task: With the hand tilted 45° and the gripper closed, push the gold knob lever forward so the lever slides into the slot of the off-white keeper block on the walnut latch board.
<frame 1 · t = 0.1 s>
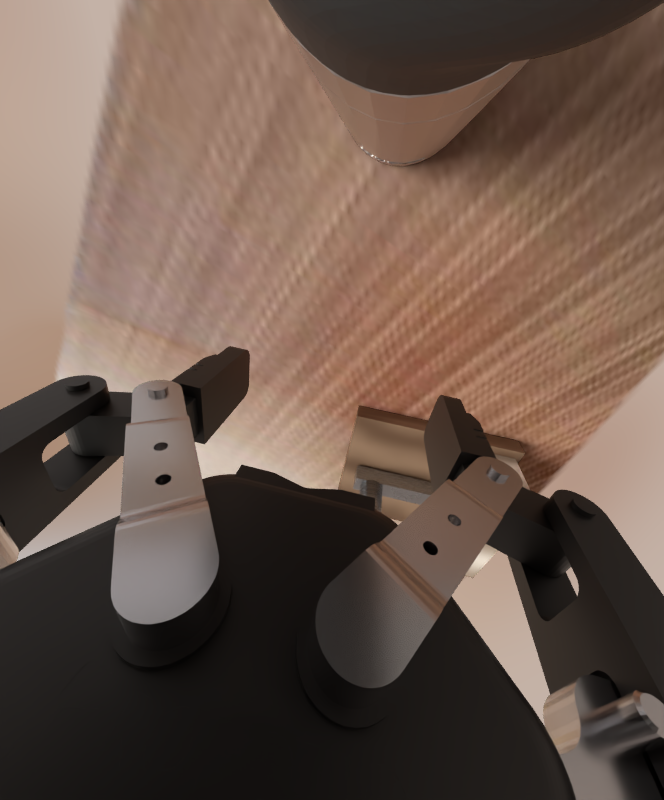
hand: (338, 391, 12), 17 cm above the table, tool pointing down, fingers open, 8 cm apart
gold knob lever: (392, 523, 31), point 8 cm above the table, slide at 0.0 cm
latch board: (415, 470, 38), on the table
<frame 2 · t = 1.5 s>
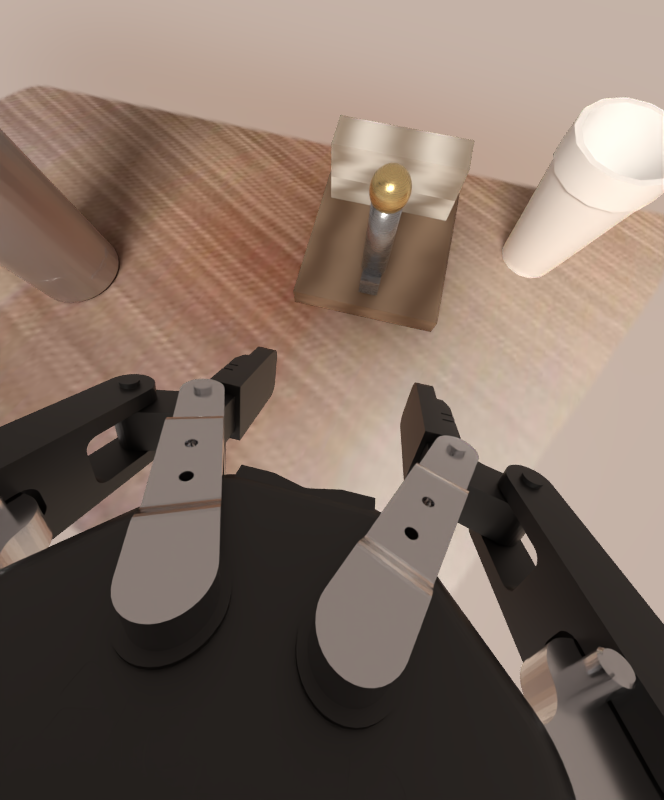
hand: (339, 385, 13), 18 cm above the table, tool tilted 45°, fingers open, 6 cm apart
gold knob lever: (385, 213, 27), point 8 cm above the table, slide at 0.0 cm
latch board: (377, 252, 36), on the table
foam cup: (526, 256, 36), on the table
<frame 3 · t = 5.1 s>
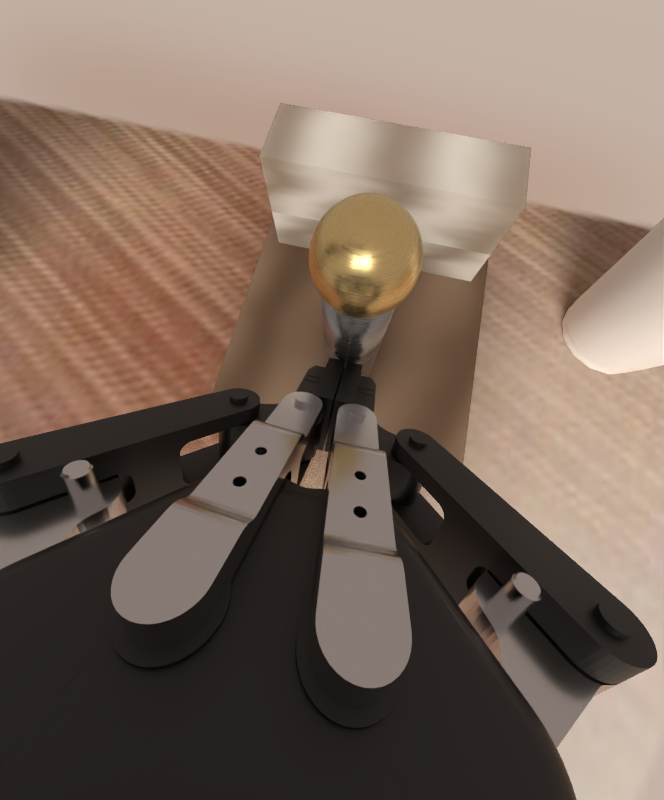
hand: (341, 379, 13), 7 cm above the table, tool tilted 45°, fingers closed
gold knob lever: (364, 283, 13), point 8 cm above the table, slide at 1.0 cm, touching gripper
latch board: (357, 330, 22), on the table
foam cup: (602, 335, 22), on the table
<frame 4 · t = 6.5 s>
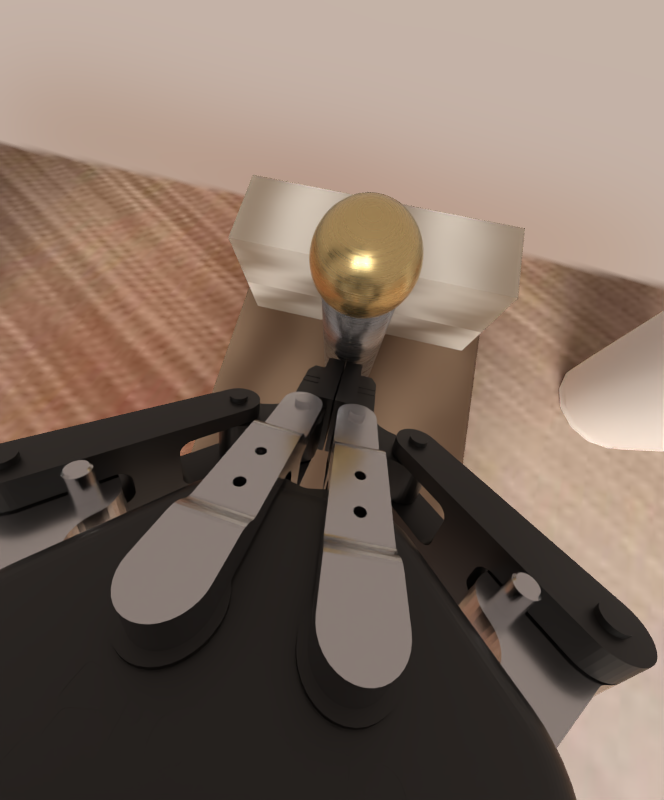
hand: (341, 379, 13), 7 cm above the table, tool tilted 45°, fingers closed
gold knob lever: (365, 283, 13), point 8 cm above the table, slide at 6.3 cm, touching gripper
latch board: (341, 398, 21), on the table
foam cup: (601, 403, 21), on the table
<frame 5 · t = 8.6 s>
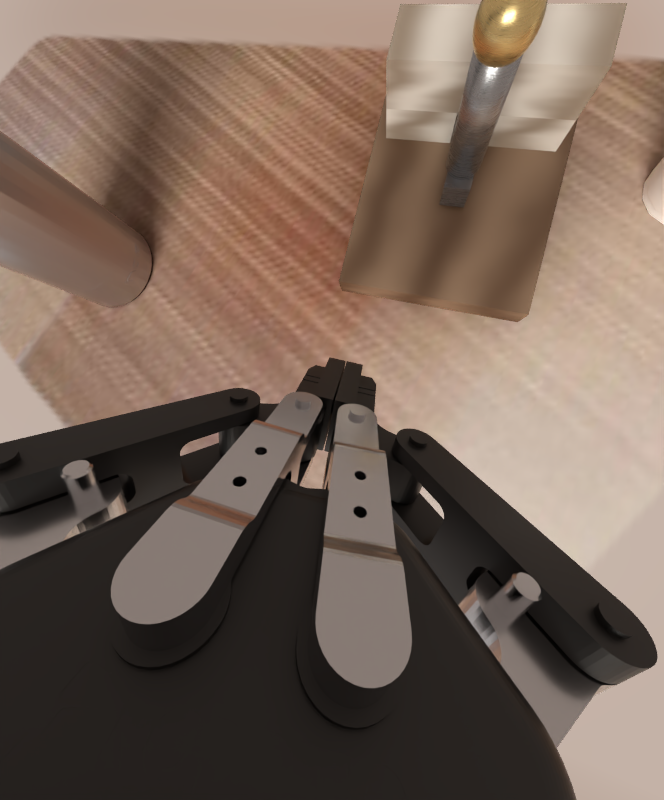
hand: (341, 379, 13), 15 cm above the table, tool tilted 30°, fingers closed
gold knob lever: (489, 73, 19), point 8 cm above the table, slide at 6.3 cm
latch board: (448, 211, 27), on the table
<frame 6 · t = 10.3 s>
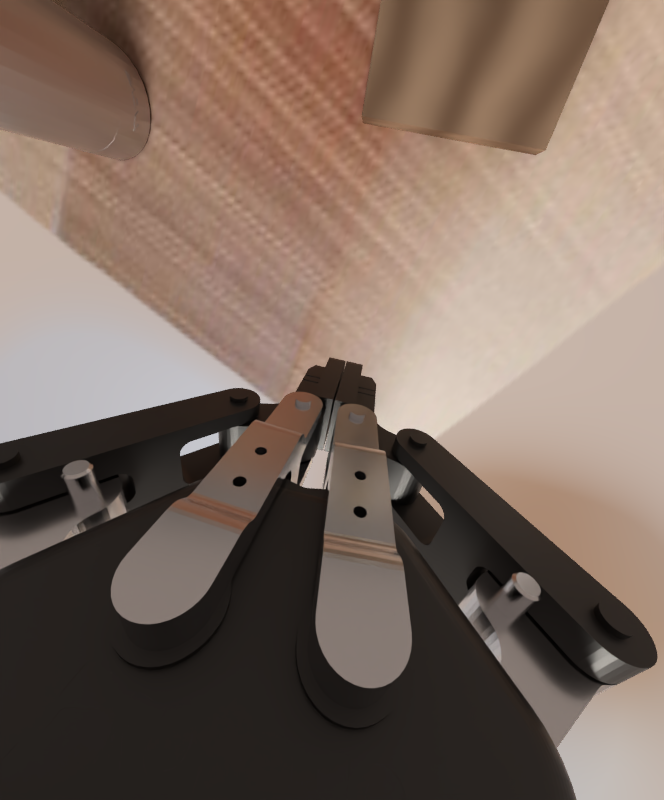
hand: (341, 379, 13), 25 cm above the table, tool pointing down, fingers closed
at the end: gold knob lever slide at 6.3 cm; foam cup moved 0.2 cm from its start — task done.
